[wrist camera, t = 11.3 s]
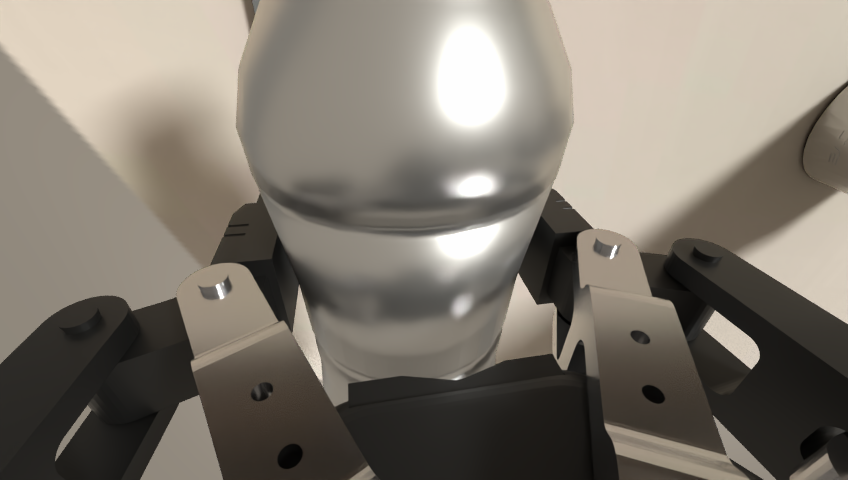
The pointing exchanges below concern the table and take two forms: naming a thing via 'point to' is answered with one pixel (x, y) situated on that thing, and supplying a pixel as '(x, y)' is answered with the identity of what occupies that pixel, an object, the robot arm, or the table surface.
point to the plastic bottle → (404, 169)
